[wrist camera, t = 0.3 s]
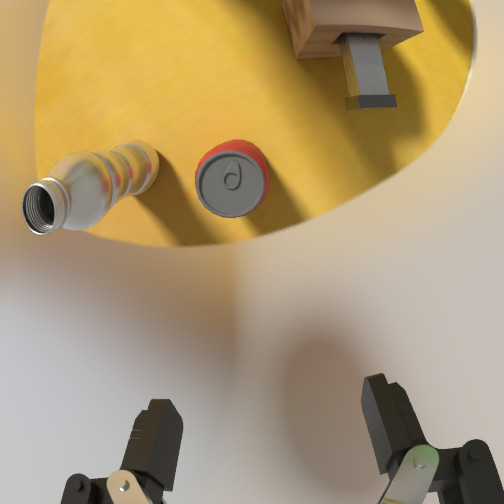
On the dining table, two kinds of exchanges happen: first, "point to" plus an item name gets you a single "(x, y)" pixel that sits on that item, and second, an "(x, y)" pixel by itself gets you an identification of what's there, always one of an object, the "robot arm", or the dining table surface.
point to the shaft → (364, 72)
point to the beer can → (232, 179)
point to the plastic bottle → (88, 187)
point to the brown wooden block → (347, 23)
